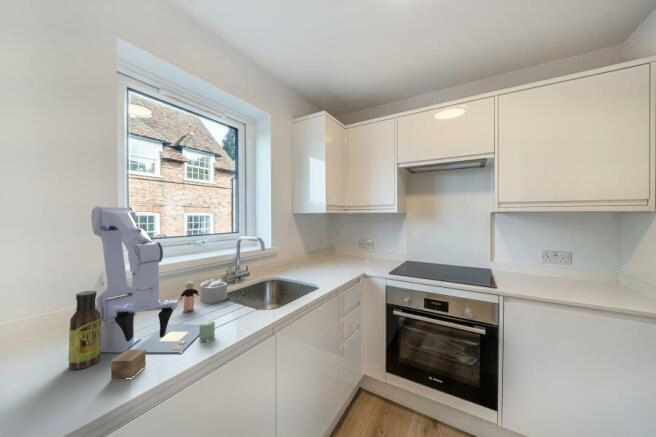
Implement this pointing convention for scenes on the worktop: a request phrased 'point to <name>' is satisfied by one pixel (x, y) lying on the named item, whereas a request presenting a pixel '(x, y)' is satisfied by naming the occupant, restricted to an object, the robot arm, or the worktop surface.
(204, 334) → the sage drum
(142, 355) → the walnut block
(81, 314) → the sauce bottle
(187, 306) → the grandmother figurine
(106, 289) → the robot arm
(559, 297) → the worktop surface
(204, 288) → the lumpy-topped squat cylinder
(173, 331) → the board
